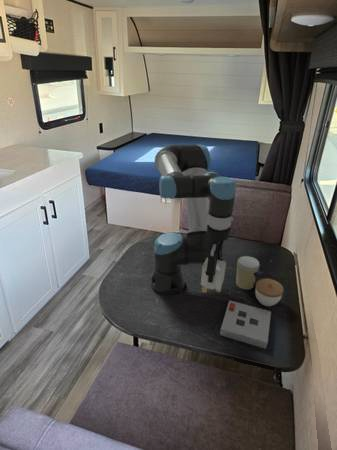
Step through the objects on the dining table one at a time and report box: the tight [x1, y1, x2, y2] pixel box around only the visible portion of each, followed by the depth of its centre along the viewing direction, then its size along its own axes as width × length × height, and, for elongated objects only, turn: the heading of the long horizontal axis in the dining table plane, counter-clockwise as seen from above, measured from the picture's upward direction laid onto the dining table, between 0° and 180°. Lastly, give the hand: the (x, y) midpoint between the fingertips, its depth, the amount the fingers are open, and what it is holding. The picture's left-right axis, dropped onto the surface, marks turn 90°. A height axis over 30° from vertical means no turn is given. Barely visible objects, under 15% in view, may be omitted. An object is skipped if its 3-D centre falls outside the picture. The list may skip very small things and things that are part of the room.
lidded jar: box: [254, 277, 285, 307], centre depth 121 cm, size 11×11×9 cm
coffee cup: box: [235, 255, 261, 290], centre depth 130 cm, size 9×9×12 cm
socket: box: [219, 300, 272, 350], centre depth 110 cm, size 16×16×4 cm
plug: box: [200, 258, 227, 294], centre depth 106 cm, size 7×6×11 cm
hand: (212, 282), depth 107 cm, fingers closed on plug, 6 cm apart
